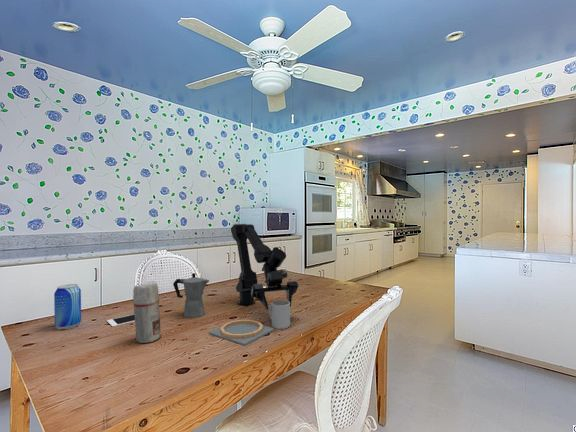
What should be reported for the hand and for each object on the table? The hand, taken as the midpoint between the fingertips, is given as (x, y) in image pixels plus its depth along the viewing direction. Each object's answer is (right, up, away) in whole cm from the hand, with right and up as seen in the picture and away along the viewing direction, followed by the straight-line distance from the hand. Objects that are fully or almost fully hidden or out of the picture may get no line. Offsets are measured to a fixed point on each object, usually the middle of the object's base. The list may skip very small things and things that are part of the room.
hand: (279, 307), depth 116 cm
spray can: (-46, -8, -11) cm, 48 cm away
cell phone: (-61, -8, +10) cm, 63 cm away
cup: (0, -7, +1) cm, 7 cm away
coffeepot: (-39, -7, +15) cm, 42 cm away
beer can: (-83, -8, +2) cm, 83 cm away
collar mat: (-14, -7, -6) cm, 16 cm away
